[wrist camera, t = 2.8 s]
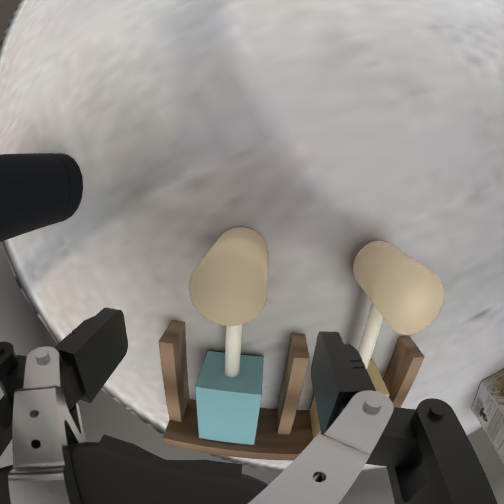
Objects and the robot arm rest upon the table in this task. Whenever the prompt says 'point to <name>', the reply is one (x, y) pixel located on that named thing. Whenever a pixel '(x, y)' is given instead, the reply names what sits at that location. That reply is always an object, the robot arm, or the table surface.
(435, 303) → the yellow peg toy
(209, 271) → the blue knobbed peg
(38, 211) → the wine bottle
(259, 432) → the lane rack
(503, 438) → the coffee box
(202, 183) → the table surface
